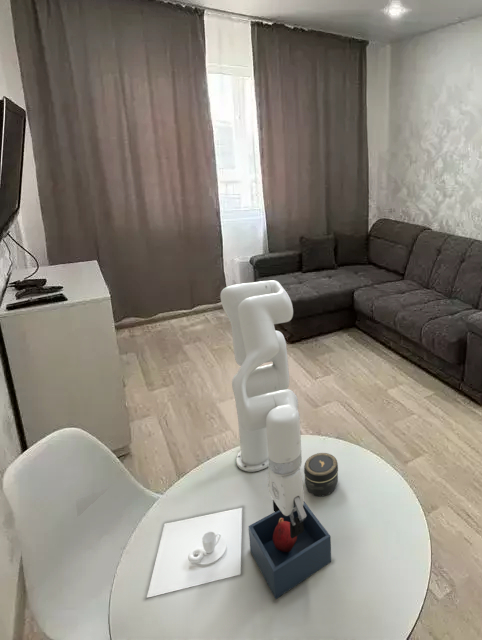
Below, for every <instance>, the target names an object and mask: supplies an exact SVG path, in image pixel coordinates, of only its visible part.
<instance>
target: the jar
mask: <svg viewBox="0 0 482 640" xmlns="http://www.w3.org/2000/svg"><path fill="white" fill-rule="evenodd" d="M303 472H304V485H305V488H306V490H307V491H308V493H310V494H311V496H315V497H326V496H328V495H330V494H331V493H333V492H334V491H335V489H336V488H337V485H338V482H339V481H338V480H339V476H338V475H339V463H338V460H337V458H336V457H335V456H334V455H333V454H331V453H327V452H318V453H315V454H312V455H310V456H309V457H308V458H307V459H306V460H305V462H304V466H303Z"/></svg>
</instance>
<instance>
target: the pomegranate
mask: <svg viewBox="0 0 482 640" xmlns="http://www.w3.org/2000/svg"><path fill="white" fill-rule="evenodd" d="M296 539H297V536H296V537H294V538H291V536H290V522H288V521H284V519H283V518H280V519H279V522H278V525H277V526H276V527H275V530H274V533H273V543H274V545H275V547H276V548H277V549H278V550H280V551H282V552H290V551H291V550H292V548H293V546H294V544H295V542H296Z"/></svg>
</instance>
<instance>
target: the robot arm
mask: <svg viewBox="0 0 482 640" xmlns="http://www.w3.org/2000/svg"><path fill="white" fill-rule="evenodd" d="M220 303H221V306H222V309H223V311H224V313H225V314H226V316H227V319H228V320H229V323H230V327H231V337H232V346H233V347H232V348H233V355H234V361H235V362H236V364H237V365H238V366H240V367H239V369H238V371H237V373H235V374H234V375H233V377H232V380H231V388H232V392H233V397H234V402H235V408H236V415H237V422H238V423H237V424H238V436H239V445H240V446H239V448H240V451H238V453H237V455H236V459H235V461H236V462H235V463H236V466H237V467H238V468H239V470H241V471H245V472H250V473H252V472H253V473H254V472H260V471H262V470H264V469H267V487H268V489H267V490H268V493H269V496H270V498H271V499H272V508H273V509H272V510H273V513H274V512H277V511H279V510H280V511H281V512H282V513H283V515H285V516H288V515H289V516H290V519H291V523H290V536H291V538H294V537H296V536H298V535H299V534H301V533H303V531H304V523H303V521H304V520H305V519H306V517H307V516H306V513H305V510H304V508H303V504H304V502H305V496H304V485H303V475H302V471H301V467H302V465H303V461H302V459H303V458H302V457H303V456H302V438H301V437H302V436H301V435H302V434H301V416H300V411H299V399H298V396H297V394H296V393H295V392H294V391H293V390H292V389H289V388H290V369H289V359H288V358H289V357H288V348H287V347H288V346H287V341H286V339H285V336H284V334H283V333H282V332H281V331H280V330H276V327H275V325H279V324H284V323H289V322H290V321H291V320H292V319H293V317H294V308H293V307H294V306H293V302H292V300H291V298H290V296H289V294H288V292H287V291H286V289H285V288H284V286H283V285H282V284H281V283H280V282H279V281H278V280H275V279H274V280H273V279H272V280H271V279H270V280H262V281H254V282H244V283H237V284H232V285H229V286H226V287H224V288H223V289H222V290H221V291H220ZM265 363H269V364H265ZM263 364H264V365H263ZM294 505H295V507H294ZM293 507H294V508H293ZM295 511H297V512H298V517H296V518H295V519H294V515H293V512H295Z"/></svg>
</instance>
